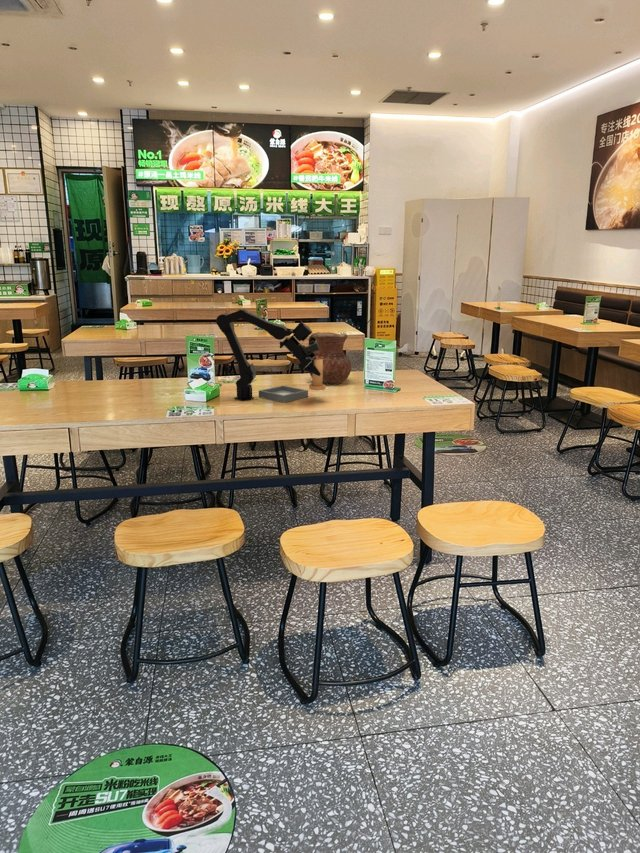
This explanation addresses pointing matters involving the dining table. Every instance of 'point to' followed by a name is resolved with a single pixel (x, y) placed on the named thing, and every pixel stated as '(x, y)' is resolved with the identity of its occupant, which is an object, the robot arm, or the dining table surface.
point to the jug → (332, 357)
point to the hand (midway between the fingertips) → (320, 374)
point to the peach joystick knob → (318, 379)
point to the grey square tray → (283, 393)
